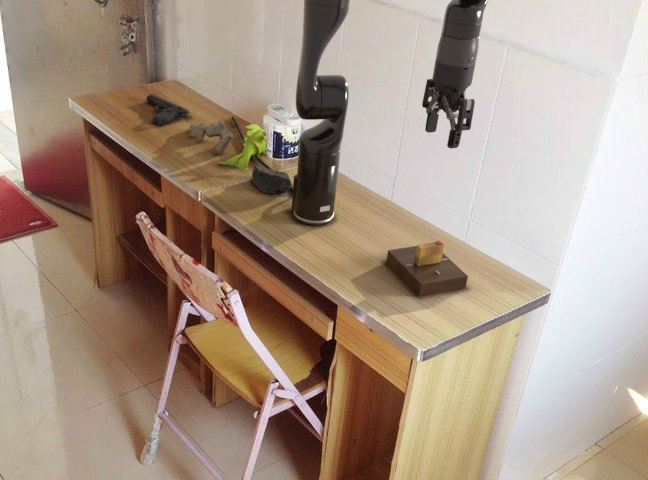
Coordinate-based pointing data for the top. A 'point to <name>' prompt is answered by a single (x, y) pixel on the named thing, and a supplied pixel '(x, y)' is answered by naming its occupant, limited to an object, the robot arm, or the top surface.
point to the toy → (250, 147)
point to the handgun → (166, 110)
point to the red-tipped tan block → (428, 253)
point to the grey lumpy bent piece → (213, 134)
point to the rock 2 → (271, 180)
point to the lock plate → (426, 272)
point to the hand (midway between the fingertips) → (441, 139)
